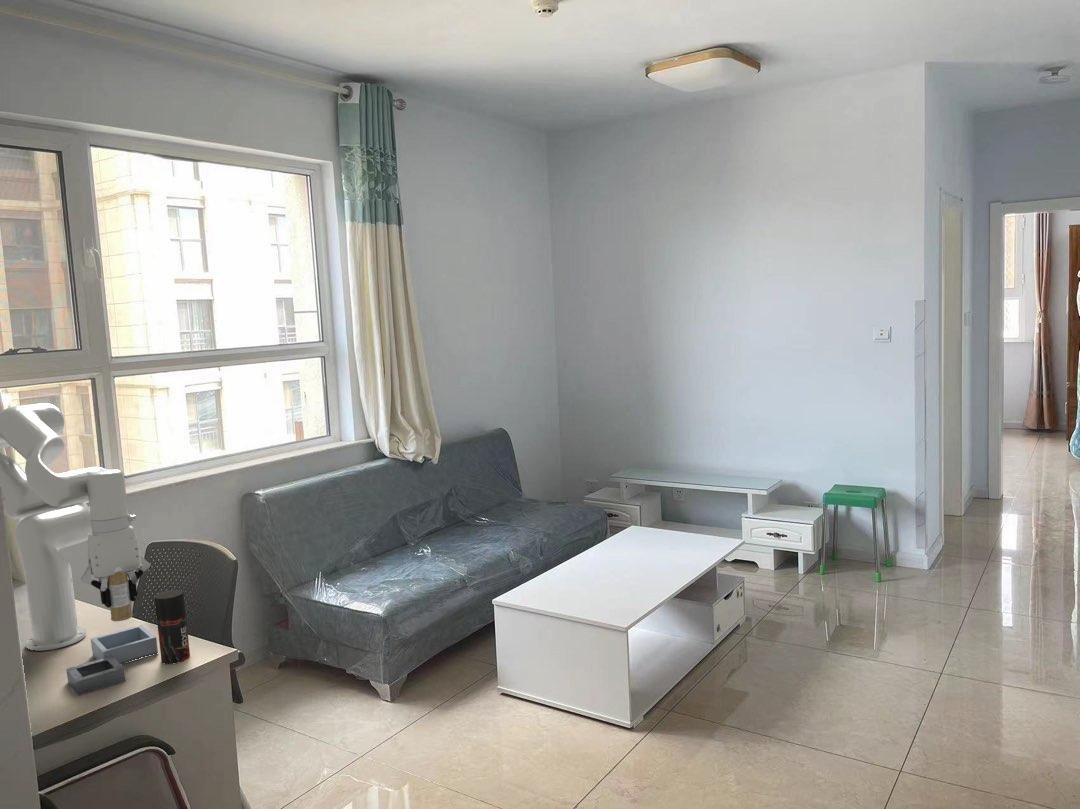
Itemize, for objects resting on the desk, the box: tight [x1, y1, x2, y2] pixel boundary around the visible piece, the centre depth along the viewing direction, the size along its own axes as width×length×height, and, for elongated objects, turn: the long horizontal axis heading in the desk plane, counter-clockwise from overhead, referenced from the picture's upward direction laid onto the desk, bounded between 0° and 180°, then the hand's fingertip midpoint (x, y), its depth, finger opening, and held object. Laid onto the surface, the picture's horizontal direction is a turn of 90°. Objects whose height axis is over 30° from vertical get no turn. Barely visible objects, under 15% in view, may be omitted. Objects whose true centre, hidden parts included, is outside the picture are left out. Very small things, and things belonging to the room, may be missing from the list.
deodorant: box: [154, 589, 191, 665], centre depth 183 cm, size 6×6×15 cm
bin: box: [90, 624, 159, 665], centre depth 187 cm, size 11×11×4 cm
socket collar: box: [65, 656, 126, 697], centre depth 173 cm, size 9×9×3 cm
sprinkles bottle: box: [107, 567, 134, 622], centre depth 185 cm, size 5×5×14 cm
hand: (119, 602), depth 186 cm, fingers closed on sprinkles bottle, 4 cm apart
